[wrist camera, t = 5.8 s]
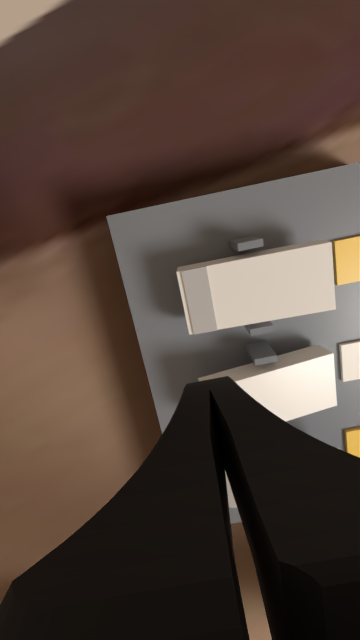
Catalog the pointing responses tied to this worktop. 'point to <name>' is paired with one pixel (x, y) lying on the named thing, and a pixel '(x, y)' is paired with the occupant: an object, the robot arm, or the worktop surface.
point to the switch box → (236, 239)
